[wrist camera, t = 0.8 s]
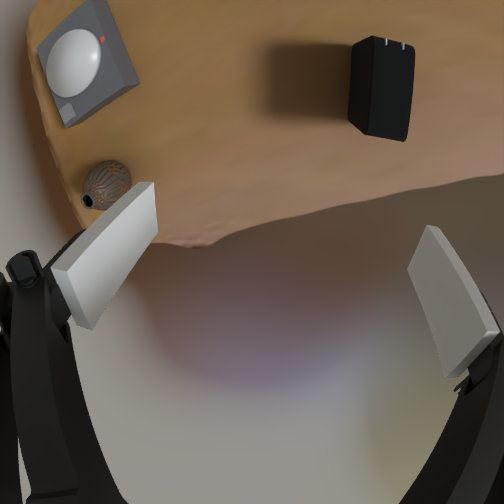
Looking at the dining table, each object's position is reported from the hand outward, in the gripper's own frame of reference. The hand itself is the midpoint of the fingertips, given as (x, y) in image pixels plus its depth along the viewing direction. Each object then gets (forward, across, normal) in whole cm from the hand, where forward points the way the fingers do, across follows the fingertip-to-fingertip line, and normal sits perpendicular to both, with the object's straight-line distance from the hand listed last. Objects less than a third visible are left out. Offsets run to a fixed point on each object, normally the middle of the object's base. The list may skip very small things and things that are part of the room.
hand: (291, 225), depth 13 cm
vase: (+25, -25, -9) cm, 36 cm away
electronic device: (+25, +8, +8) cm, 27 cm away
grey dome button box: (+24, -29, +10) cm, 39 cm away
